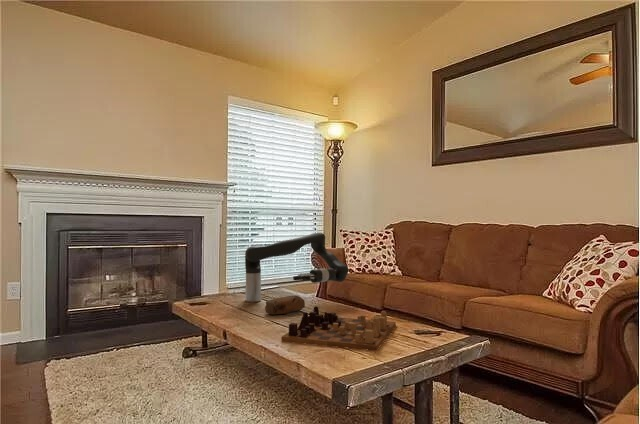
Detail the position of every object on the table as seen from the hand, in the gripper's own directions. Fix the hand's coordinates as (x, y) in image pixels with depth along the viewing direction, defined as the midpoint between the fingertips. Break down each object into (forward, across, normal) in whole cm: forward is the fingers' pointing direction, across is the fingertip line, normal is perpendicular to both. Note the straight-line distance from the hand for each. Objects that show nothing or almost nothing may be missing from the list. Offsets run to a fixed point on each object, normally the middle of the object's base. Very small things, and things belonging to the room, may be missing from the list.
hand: (294, 278), depth 234 cm
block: (-4, 0, +14) cm, 14 cm away
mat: (+3, -5, +18) cm, 19 cm away
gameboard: (+8, +50, +19) cm, 54 cm away
